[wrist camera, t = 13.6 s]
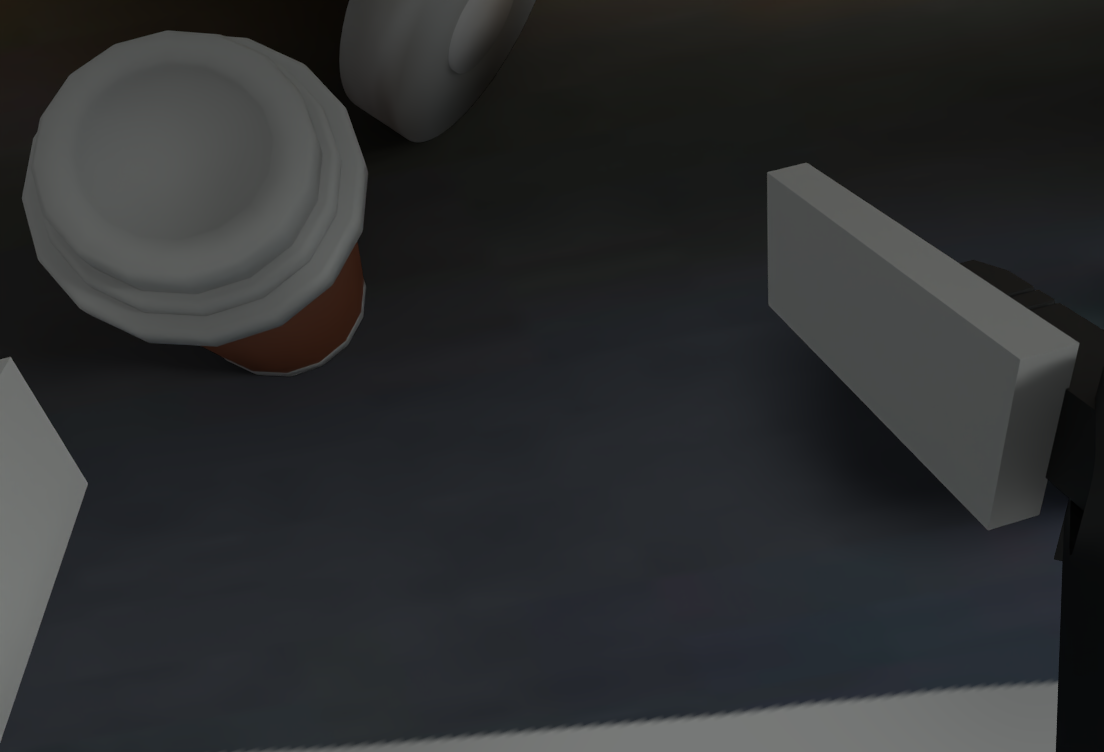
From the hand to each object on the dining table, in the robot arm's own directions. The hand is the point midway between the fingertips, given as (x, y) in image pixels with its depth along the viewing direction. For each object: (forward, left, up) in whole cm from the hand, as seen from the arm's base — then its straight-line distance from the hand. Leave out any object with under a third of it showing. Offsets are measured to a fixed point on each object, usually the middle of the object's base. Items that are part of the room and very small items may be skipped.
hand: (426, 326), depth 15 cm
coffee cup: (-1, -9, -18) cm, 20 cm away
